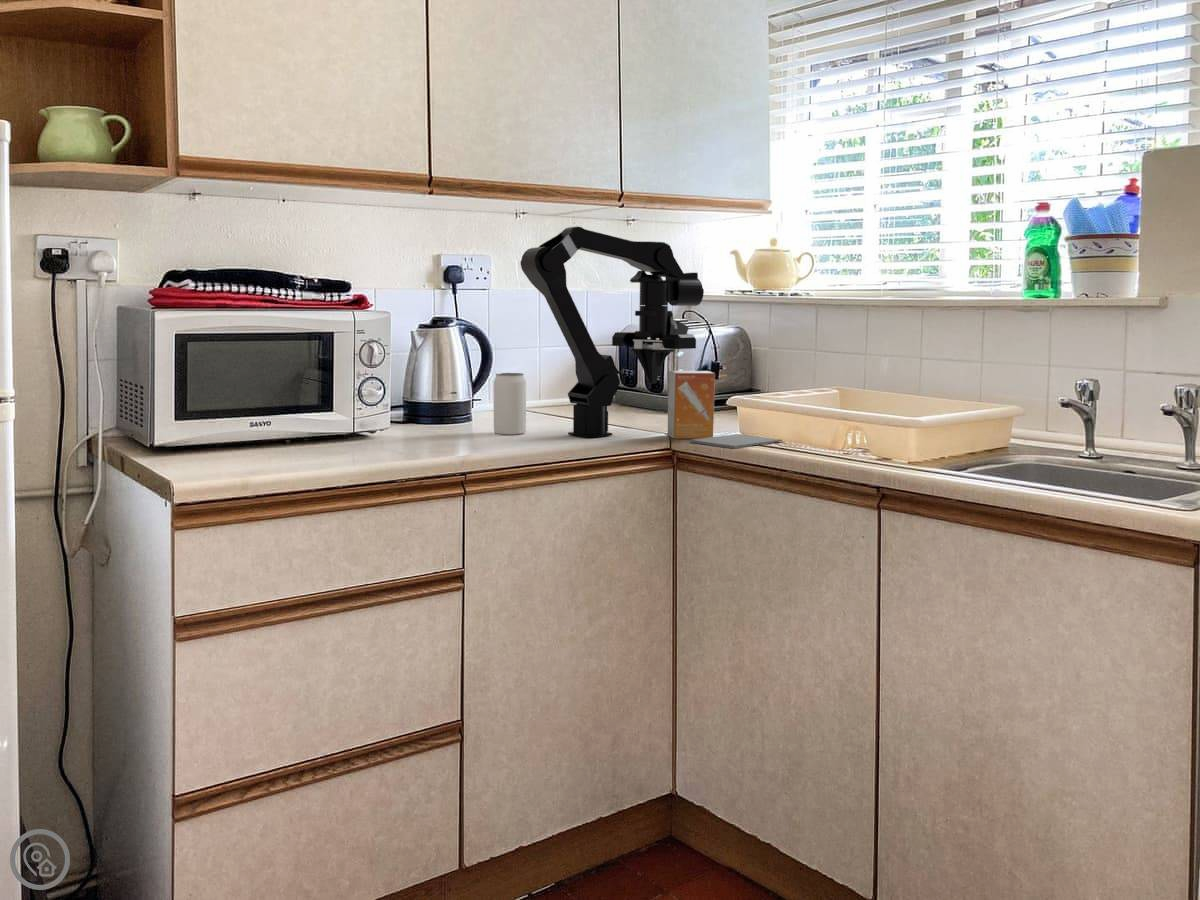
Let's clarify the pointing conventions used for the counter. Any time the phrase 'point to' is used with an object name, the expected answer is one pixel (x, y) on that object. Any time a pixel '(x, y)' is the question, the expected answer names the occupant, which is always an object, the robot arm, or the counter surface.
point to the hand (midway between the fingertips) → (652, 383)
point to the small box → (691, 404)
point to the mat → (735, 441)
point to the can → (509, 404)
